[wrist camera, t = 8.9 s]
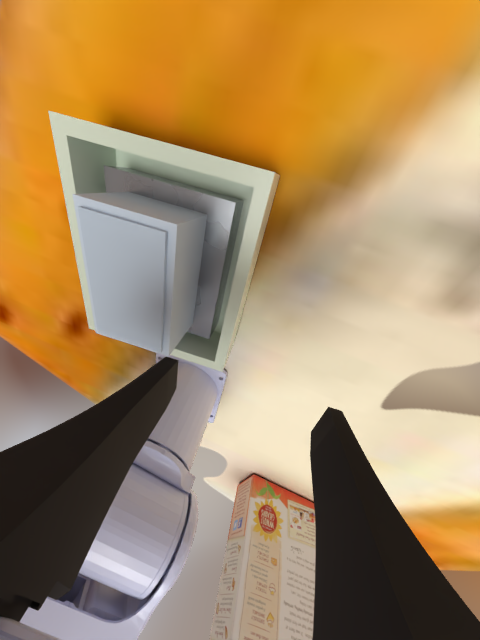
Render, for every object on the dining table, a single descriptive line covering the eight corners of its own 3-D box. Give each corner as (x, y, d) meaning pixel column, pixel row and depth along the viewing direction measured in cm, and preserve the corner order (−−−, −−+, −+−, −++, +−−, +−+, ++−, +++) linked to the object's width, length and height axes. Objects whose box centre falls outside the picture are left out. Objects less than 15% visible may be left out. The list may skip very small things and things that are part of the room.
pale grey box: (192, 323, 17) (166, 359, 14) (133, 304, 18) (92, 335, 14) (207, 214, 13) (174, 225, 9) (128, 191, 13) (67, 193, 10)
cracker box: (236, 483, 37) (184, 753, 19) (254, 471, 34) (210, 781, 16) (307, 518, 38) (319, 802, 21) (331, 509, 35) (369, 838, 17)
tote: (235, 339, 22) (222, 371, 18) (124, 304, 22) (89, 328, 18) (280, 175, 14) (275, 172, 10) (111, 129, 15) (48, 110, 11)
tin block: (218, 323, 20) (209, 339, 18) (135, 297, 20) (117, 309, 18) (244, 200, 14) (235, 202, 12) (130, 167, 15) (103, 165, 13)
